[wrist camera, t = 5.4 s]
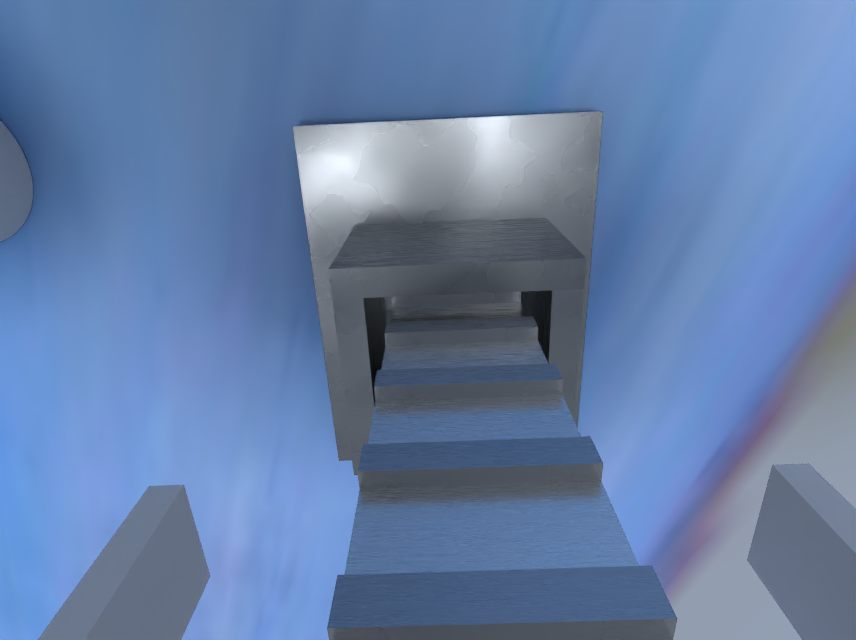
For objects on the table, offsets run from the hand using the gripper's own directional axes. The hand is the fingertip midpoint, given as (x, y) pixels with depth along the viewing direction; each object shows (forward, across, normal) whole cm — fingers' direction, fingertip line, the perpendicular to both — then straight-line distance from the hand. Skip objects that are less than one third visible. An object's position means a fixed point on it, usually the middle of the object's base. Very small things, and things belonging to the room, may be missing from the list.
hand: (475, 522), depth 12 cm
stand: (+14, 0, 0) cm, 14 cm away
